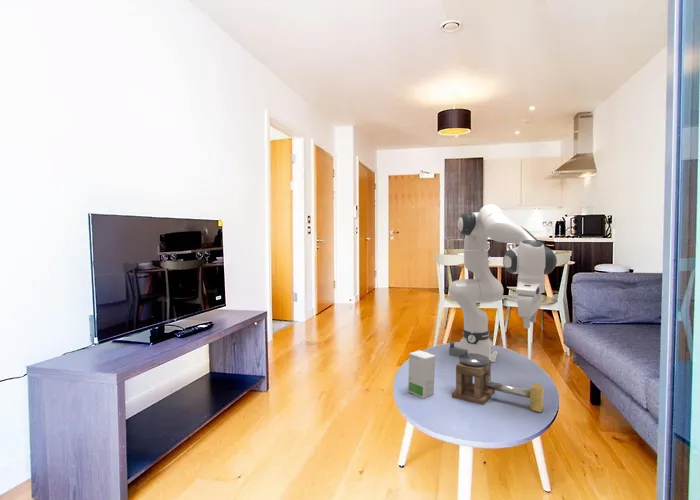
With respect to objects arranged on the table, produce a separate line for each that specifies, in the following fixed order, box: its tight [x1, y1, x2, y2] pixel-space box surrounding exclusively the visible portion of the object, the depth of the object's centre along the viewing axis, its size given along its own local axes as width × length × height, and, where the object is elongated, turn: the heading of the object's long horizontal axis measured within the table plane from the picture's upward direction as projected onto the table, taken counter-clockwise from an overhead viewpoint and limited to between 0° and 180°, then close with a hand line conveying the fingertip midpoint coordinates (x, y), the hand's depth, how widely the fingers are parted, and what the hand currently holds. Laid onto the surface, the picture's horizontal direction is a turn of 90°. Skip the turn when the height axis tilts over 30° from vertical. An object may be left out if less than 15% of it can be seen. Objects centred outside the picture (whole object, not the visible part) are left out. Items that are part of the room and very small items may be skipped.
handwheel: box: [448, 341, 489, 367], centre depth 155 cm, size 16×11×6 cm
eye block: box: [451, 360, 495, 406], centre depth 154 cm, size 14×12×12 cm
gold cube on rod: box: [485, 375, 545, 413], centre depth 146 cm, size 4×20×8 cm, turn 54°
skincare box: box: [407, 349, 436, 399], centre depth 156 cm, size 8×7×16 cm
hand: (529, 324), depth 143 cm, fingers open, 8 cm apart
